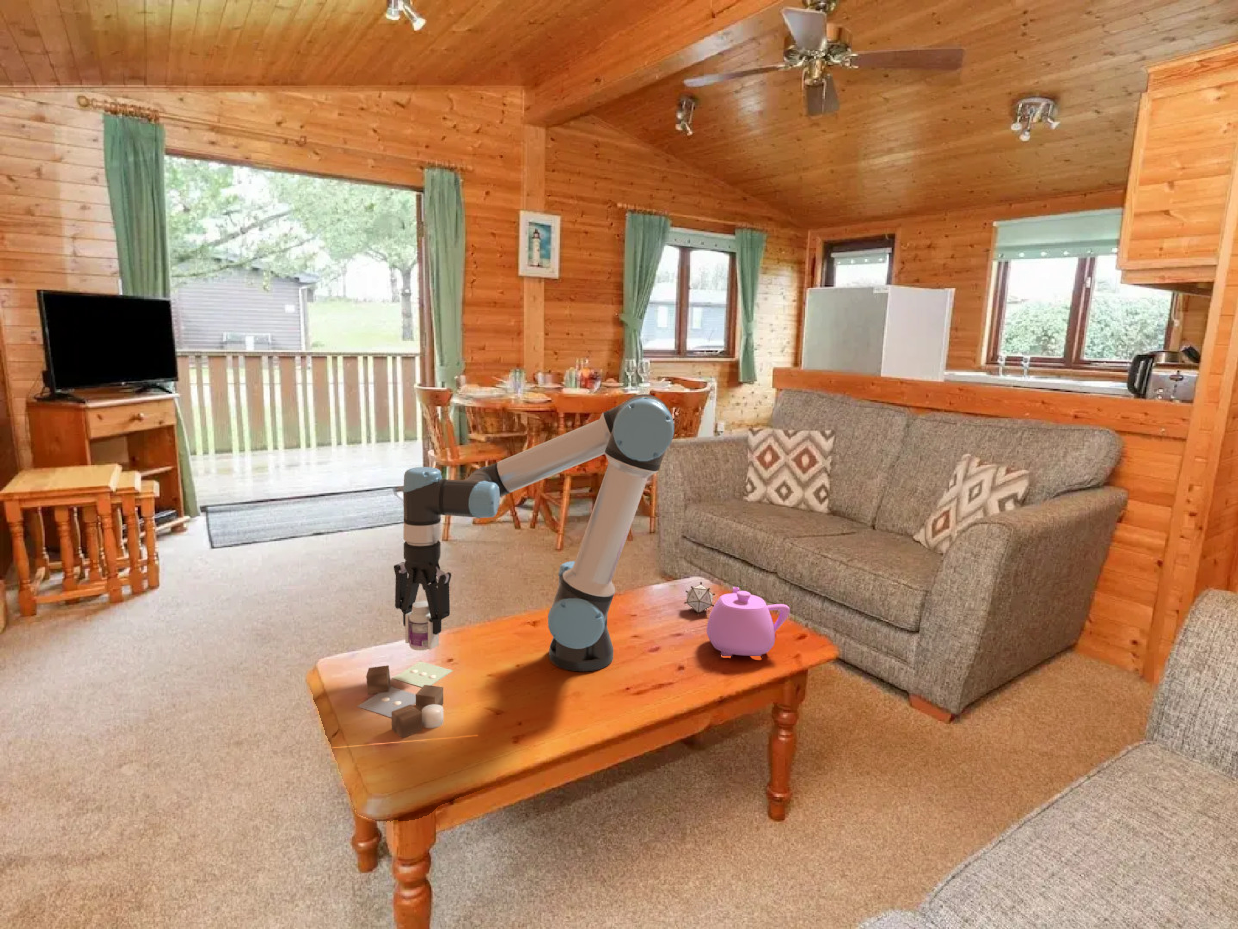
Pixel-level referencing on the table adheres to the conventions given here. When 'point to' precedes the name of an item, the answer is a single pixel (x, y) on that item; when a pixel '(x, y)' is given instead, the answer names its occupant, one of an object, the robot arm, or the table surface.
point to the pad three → (422, 674)
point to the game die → (699, 598)
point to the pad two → (389, 701)
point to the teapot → (743, 624)
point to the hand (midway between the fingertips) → (422, 643)
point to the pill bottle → (419, 626)
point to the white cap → (432, 716)
